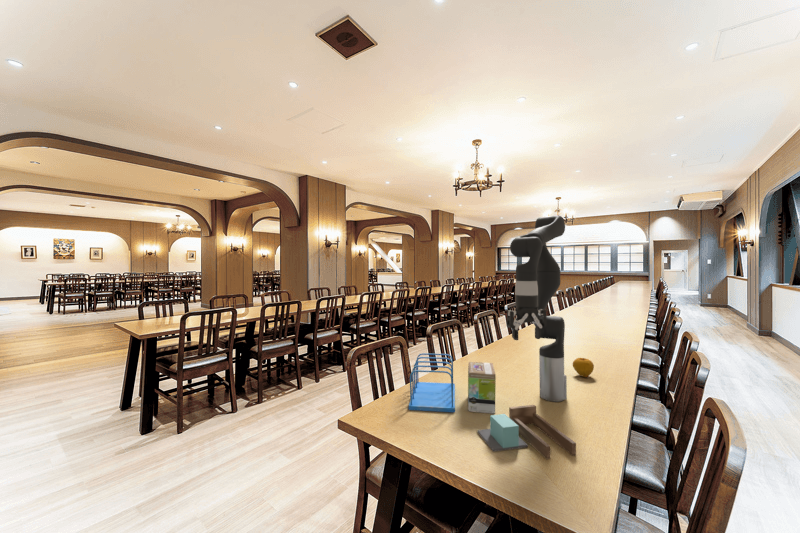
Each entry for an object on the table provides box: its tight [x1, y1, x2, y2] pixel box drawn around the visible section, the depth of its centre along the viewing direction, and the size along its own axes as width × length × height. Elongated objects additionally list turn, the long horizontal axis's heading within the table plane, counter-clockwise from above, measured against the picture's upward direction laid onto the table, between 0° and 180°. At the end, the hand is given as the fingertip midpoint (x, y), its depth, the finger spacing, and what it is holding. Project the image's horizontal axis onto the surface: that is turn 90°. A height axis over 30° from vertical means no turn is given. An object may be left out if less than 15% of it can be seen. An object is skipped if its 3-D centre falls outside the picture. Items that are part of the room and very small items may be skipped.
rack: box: [508, 404, 577, 460], centre depth 102 cm, size 9×20×6 cm, turn 11°
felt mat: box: [477, 428, 528, 452], centre depth 101 cm, size 11×11×1 cm
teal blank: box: [489, 413, 520, 448], centre depth 100 cm, size 5×8×6 cm, turn 12°
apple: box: [572, 357, 595, 378], centre depth 158 cm, size 9×9×9 cm
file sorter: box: [408, 352, 456, 413], centre depth 134 cm, size 25×17×15 cm
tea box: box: [467, 361, 497, 415], centre depth 127 cm, size 15×10×15 cm
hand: (526, 339), depth 115 cm, fingers open, 8 cm apart
